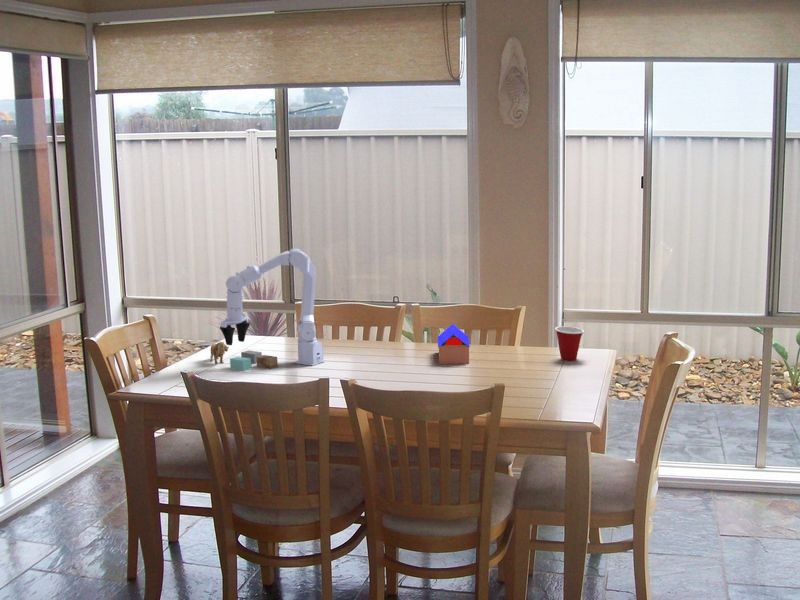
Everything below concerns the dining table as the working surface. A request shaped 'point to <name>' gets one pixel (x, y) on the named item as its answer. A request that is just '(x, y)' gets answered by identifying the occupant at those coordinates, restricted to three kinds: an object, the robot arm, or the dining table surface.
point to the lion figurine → (218, 351)
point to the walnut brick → (267, 361)
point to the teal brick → (240, 363)
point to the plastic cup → (568, 342)
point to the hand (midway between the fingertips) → (235, 343)
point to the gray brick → (251, 355)
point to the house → (453, 346)
